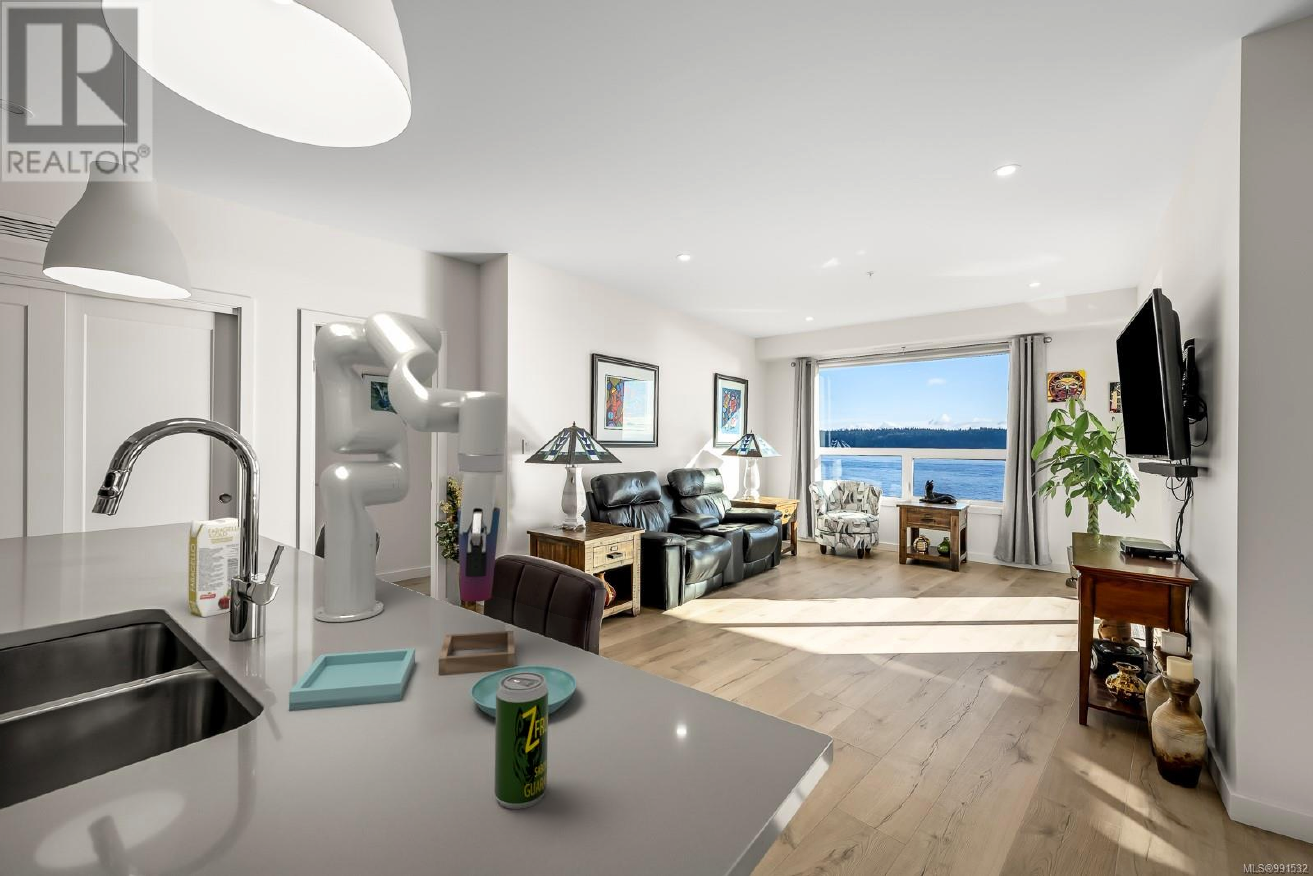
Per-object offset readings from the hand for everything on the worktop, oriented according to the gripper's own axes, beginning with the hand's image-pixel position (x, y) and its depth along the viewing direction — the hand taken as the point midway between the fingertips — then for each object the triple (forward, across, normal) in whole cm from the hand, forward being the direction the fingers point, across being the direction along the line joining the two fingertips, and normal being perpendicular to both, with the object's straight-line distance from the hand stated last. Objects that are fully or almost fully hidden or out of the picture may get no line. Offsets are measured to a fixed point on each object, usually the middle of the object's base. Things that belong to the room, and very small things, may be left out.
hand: (476, 570), depth 100 cm
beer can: (+14, +41, +7) cm, 44 cm away
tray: (+15, +8, -16) cm, 23 cm away
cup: (+5, 0, 0) cm, 5 cm away
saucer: (+15, +19, +8) cm, 25 cm away
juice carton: (+17, -37, -53) cm, 67 cm away
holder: (+15, +1, +1) cm, 15 cm away
